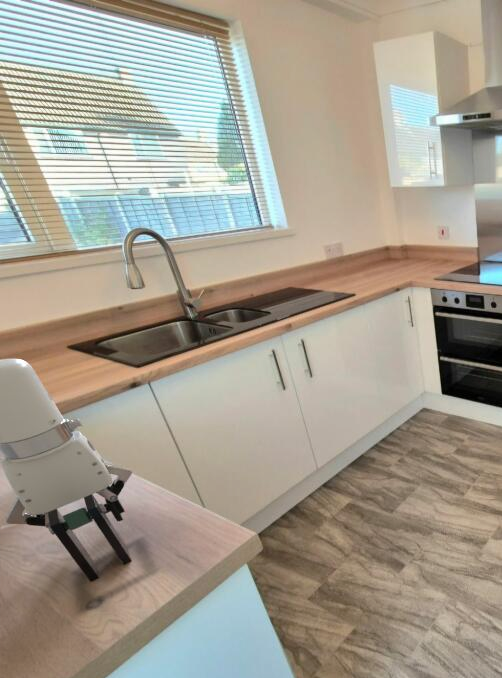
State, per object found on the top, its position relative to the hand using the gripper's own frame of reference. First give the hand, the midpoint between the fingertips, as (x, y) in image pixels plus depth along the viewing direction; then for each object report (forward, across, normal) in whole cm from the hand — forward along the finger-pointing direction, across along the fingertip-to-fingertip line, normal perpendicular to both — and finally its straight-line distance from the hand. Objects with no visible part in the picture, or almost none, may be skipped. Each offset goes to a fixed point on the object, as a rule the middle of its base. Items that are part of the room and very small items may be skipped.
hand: (95, 527), depth 72 cm
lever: (-4, 0, +6) cm, 7 cm away
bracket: (+3, 0, +10) cm, 10 cm away
